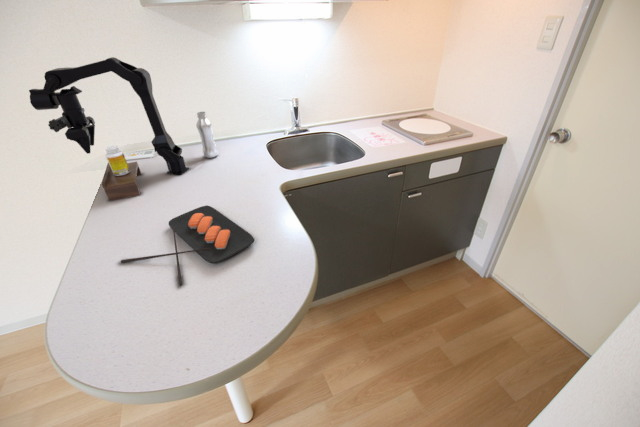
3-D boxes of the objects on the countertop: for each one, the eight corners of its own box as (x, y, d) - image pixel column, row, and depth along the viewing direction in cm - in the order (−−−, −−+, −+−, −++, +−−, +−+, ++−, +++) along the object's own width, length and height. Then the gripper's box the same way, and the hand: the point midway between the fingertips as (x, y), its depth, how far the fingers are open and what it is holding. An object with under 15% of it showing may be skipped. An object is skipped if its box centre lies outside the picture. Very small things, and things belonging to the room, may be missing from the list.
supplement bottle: (132, 173, 118) (122, 147, 112) (116, 178, 114) (105, 151, 109) (127, 168, 121) (117, 143, 115) (112, 173, 118) (100, 148, 112)
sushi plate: (259, 245, 88) (257, 234, 86) (151, 306, 70) (146, 294, 68) (208, 208, 105) (206, 198, 103) (112, 250, 88) (106, 239, 86)
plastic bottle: (221, 154, 145) (212, 111, 134) (211, 160, 140) (201, 115, 129) (211, 152, 147) (201, 110, 136) (201, 158, 142) (189, 114, 131)
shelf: (114, 178, 126) (107, 162, 123) (141, 173, 130) (135, 158, 126) (109, 201, 111) (101, 183, 107) (140, 194, 114) (133, 177, 111)
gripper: (51, 104, 115) (70, 145, 123) (36, 117, 100) (60, 162, 109) (86, 101, 119) (102, 140, 127) (77, 112, 104) (96, 156, 113)
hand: (90, 149), depth 119 cm, fingers open, 9 cm apart
